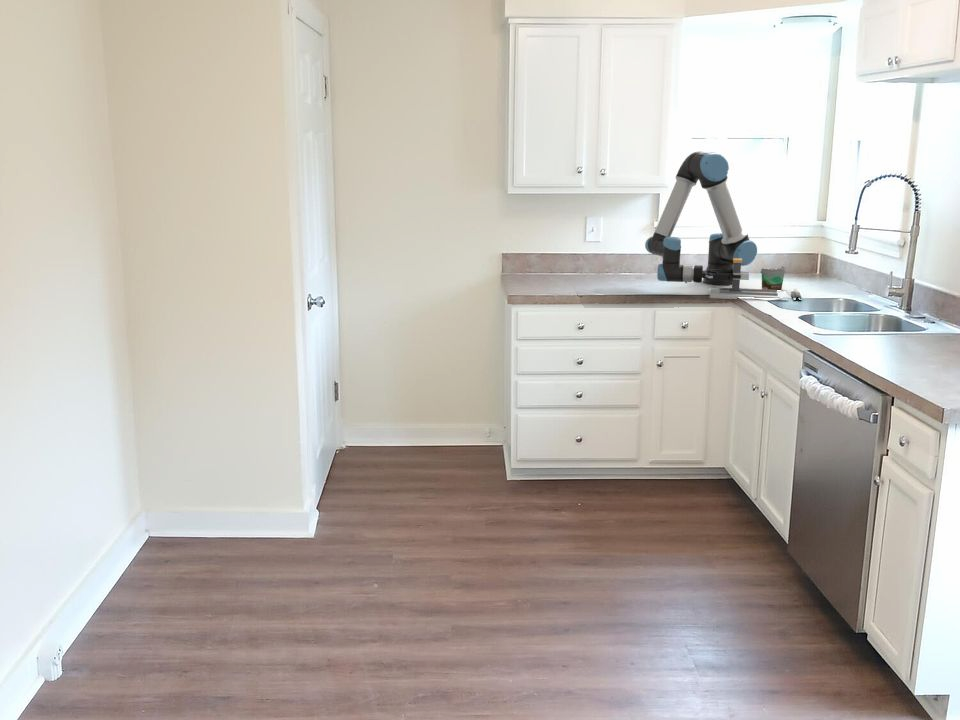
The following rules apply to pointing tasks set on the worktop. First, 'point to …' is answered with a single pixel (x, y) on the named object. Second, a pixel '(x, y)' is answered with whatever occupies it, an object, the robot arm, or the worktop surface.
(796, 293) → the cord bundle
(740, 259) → the lever
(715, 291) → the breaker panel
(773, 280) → the food container
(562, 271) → the worktop surface
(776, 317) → the worktop surface
